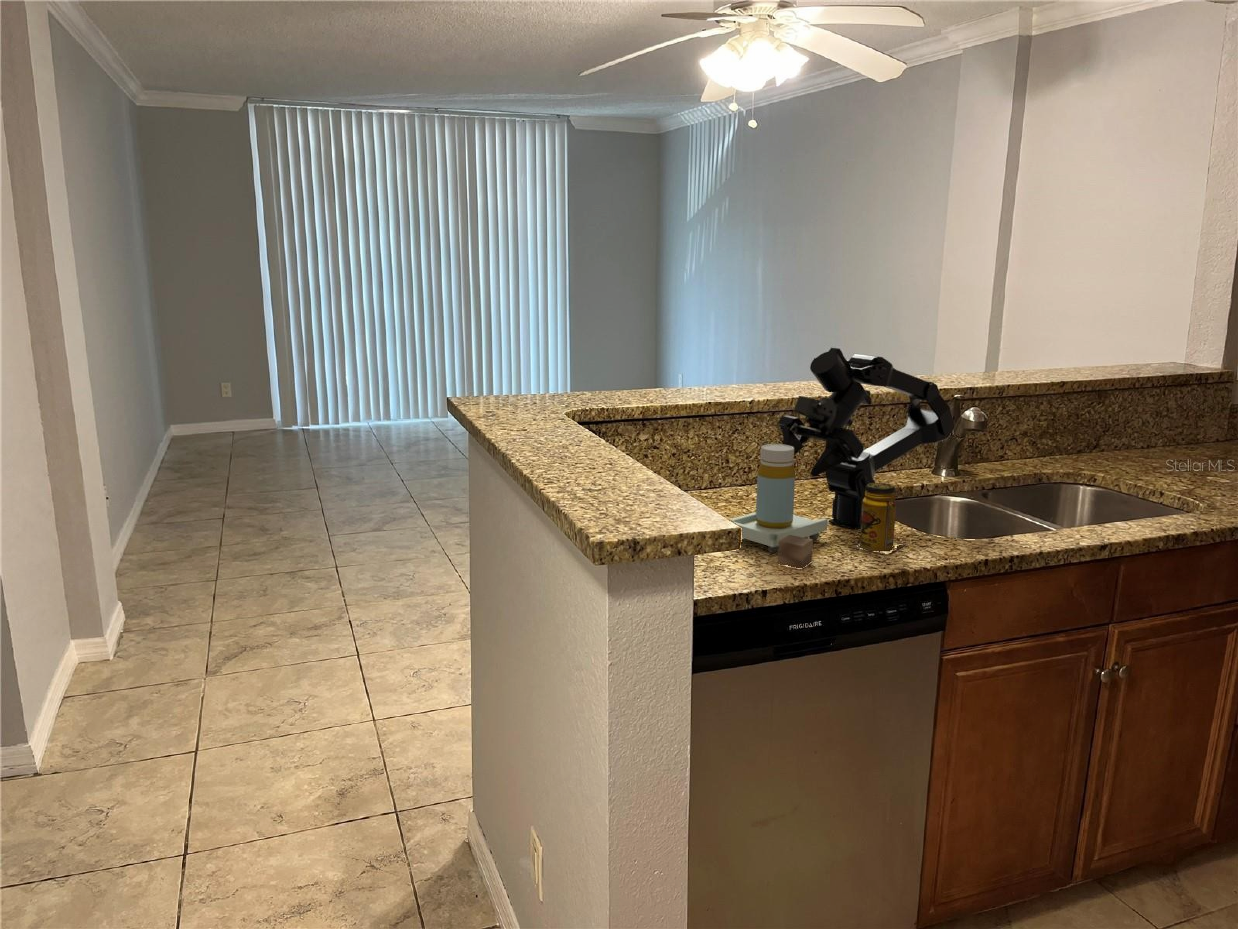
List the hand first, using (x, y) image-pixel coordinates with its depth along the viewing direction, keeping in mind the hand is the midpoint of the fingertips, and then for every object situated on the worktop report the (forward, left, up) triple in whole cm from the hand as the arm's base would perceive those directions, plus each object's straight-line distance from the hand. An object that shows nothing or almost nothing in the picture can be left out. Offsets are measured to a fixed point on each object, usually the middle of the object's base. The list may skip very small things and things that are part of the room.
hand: (794, 470), depth 176 cm
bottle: (+1, +4, -10) cm, 11 cm away
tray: (+1, +4, -13) cm, 14 cm away
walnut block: (-10, +12, -13) cm, 21 cm away
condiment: (-14, -8, -13) cm, 21 cm away
